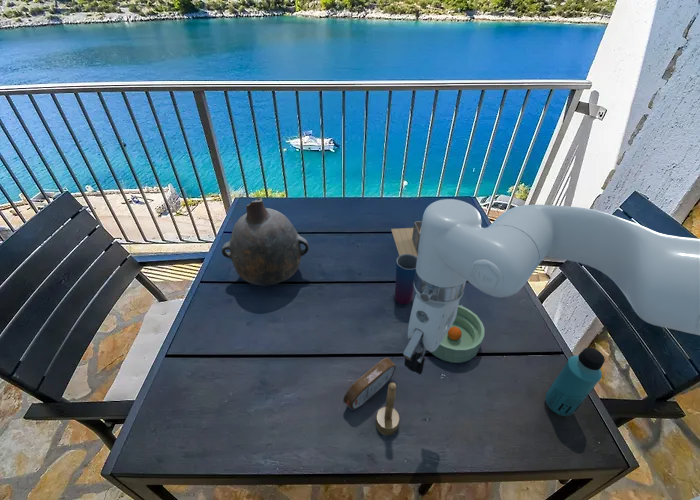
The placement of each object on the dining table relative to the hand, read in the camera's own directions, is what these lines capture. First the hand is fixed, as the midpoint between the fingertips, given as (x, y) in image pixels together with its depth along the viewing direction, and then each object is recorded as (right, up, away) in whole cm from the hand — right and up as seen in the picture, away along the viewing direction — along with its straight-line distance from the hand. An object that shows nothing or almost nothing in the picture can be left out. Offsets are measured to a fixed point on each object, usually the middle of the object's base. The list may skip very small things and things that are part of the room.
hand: (425, 349), depth 63 cm
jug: (-40, +9, +54) cm, 68 cm away
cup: (+3, +3, +46) cm, 46 cm away
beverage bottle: (+35, -19, +19) cm, 44 cm away
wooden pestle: (-5, -21, +15) cm, 27 cm away
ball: (+15, -5, +32) cm, 36 cm away
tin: (-9, -17, +21) cm, 28 cm away
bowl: (+14, -7, +33) cm, 37 cm away
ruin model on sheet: (+12, +19, +66) cm, 69 cm away
